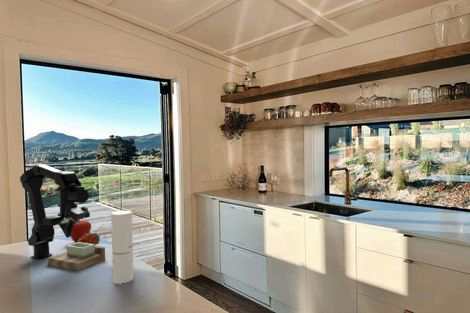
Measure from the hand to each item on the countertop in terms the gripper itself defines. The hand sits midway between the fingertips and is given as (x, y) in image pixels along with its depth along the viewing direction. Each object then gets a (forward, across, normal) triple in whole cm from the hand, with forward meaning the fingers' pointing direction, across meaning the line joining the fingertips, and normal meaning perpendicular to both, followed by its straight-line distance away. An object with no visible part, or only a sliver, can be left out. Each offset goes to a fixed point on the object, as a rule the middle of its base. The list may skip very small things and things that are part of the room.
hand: (67, 237), depth 137 cm
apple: (+12, +24, +22) cm, 34 cm away
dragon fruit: (+11, +18, +9) cm, 23 cm away
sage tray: (+8, +4, -3) cm, 9 cm away
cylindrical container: (+11, -5, -36) cm, 38 cm away
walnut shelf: (+11, +2, -3) cm, 12 cm away
